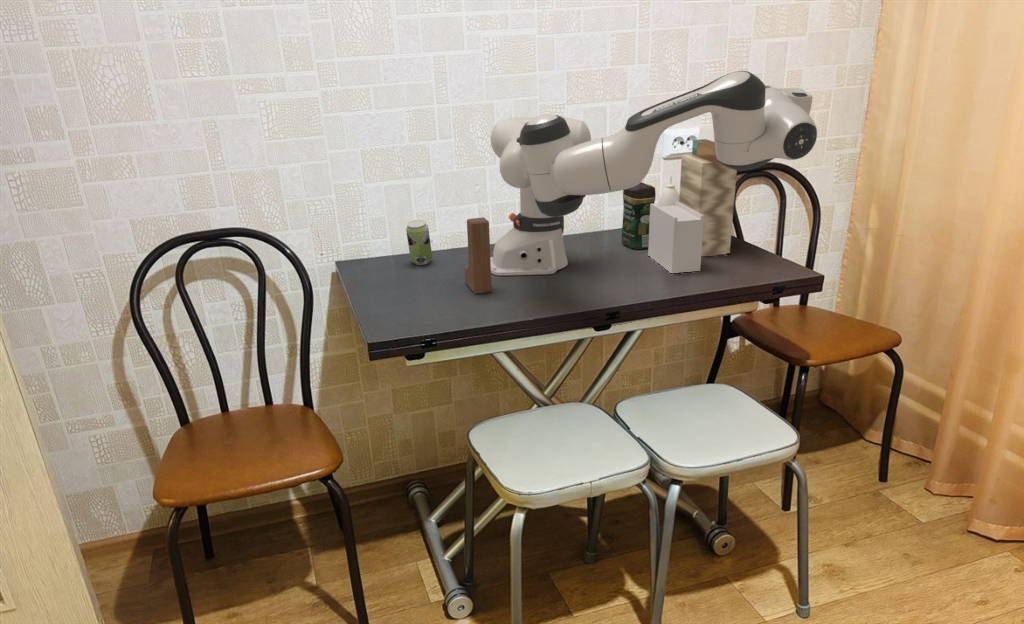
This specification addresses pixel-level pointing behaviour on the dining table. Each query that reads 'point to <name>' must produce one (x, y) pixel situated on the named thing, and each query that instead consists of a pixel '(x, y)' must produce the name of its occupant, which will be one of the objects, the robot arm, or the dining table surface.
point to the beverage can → (419, 242)
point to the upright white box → (676, 237)
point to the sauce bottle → (668, 196)
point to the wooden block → (478, 256)
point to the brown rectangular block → (705, 150)
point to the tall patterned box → (709, 200)
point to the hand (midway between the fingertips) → (745, 89)
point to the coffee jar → (637, 215)
